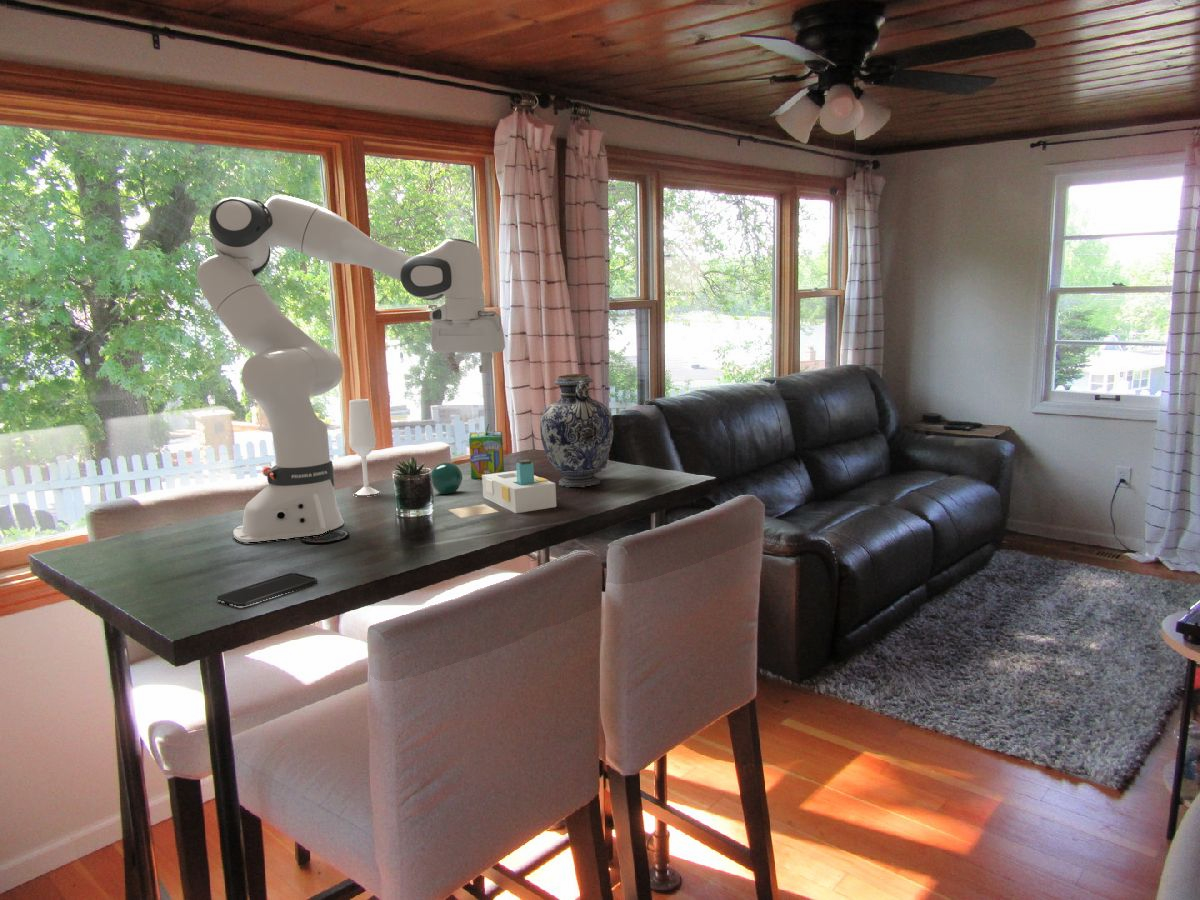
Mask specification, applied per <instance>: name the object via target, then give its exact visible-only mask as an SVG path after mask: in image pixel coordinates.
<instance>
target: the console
mask: <svg viewBox="0 0 1200 900" xmlns="http://www.w3.org/2000/svg"><path fill="white" fill-rule="evenodd" d="M481 481H482V482H481V483H482V496H483V498H485V499H486V500H488V501H490V502H492V503H494V504H496V505H498V506H501V507H503V508H504V509H506V510H508V511H510V512H512V513H514V514H520V513H526V512H532V511H533V512H534V511H537V510H538V511H539V510H546V509H551V508H556V507H557V494H556V493H557V492H556V490H557V489H556V483H555V482H553V481H550V480H549V479H547V478H544V477H539V476H537V475H535V474H534V484H529V485H522V486H521V485H518V484H517V473H516V470H511V471H504V472H501V473H494V474H487V475H482V478H481Z"/></svg>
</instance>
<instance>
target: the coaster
mask: <svg viewBox="0 0 1200 900" xmlns="http://www.w3.org/2000/svg"><path fill="white" fill-rule="evenodd" d="M447 511H448V512H450V513H452V514H454V515H455V516H457V517H458V518H461V519H463V518H469V517H475V516H482V515H488V514H494V513H499V512H500V511H498V510H497V509H495V508H493V507H491V506H489V505H488V504H486V503H485V504H483V503H482V504H479V505H477V504H476V505H471V506H465V507H457V508H451V509H447Z"/></svg>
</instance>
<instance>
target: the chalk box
mask: <svg viewBox="0 0 1200 900" xmlns="http://www.w3.org/2000/svg"><path fill="white" fill-rule="evenodd" d="M489 426H490V421H487V424H486V429H485V431H474V432H469V438H468V440H469V441H468V443H469V445H468V446H469V459H470V479H471V480H474V479H482V475H487V474H494V473H501V472H505V462H504V445H503V444H504V441H503V440H504V439H503V432H502V431H489Z"/></svg>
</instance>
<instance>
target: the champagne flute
mask: <svg viewBox="0 0 1200 900" xmlns="http://www.w3.org/2000/svg"><path fill="white" fill-rule="evenodd" d="M348 402H349V403H348V404H349V407H348V409H349V410H348V416H349V417H348V446H349V447H350V449H351V450H352V451H353V452H354V453H355V454H356V455H358V456H360V457H361V466H362V468H361V469H362V480H363V486H362V487H361V489H359V490H358V491H357V492H355V493H354V494H357V495H370V494H377V493H379V492H380V491H379V490H378V489H377V490H376V489H375V488H372V487H371V486H369V476H368V475H369V474H368V463H367V456H369V455H370V453H372V451H373V450H374V449H375V447H376V446H377V438H376V433H375V428H374V423H373V417H372V411H371V406H370V400H369V399H368V398H359V399H351V400H349V401H348Z"/></svg>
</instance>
